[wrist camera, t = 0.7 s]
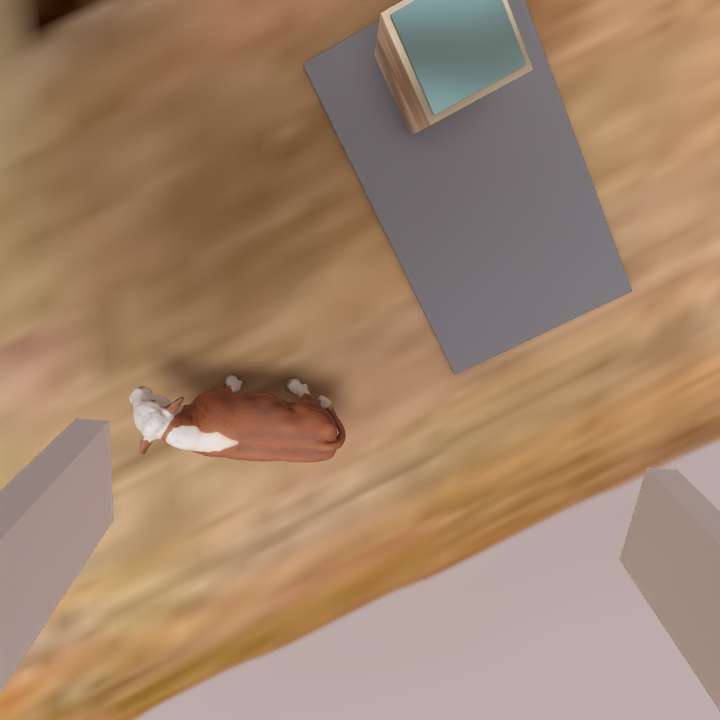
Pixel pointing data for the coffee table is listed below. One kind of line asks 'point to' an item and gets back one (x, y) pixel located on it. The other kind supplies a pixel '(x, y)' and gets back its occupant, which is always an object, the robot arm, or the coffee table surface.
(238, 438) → the bull figurine
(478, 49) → the beech block
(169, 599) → the coffee table surface
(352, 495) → the coffee table surface
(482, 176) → the felt mat
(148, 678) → the coffee table surface
